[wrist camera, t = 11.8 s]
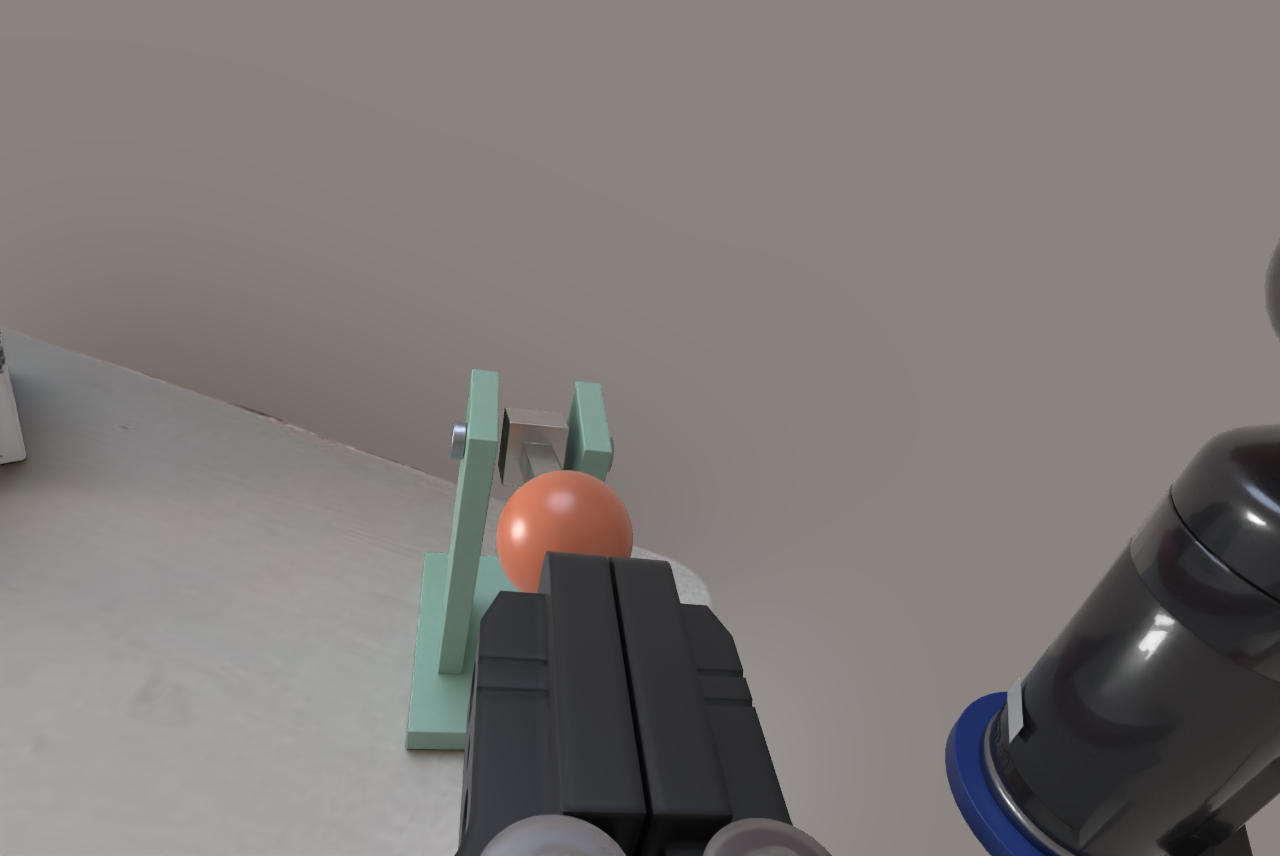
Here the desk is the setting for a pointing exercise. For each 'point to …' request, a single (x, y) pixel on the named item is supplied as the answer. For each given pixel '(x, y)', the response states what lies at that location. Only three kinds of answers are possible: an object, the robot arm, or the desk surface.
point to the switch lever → (551, 500)
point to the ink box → (9, 416)
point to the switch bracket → (478, 560)
